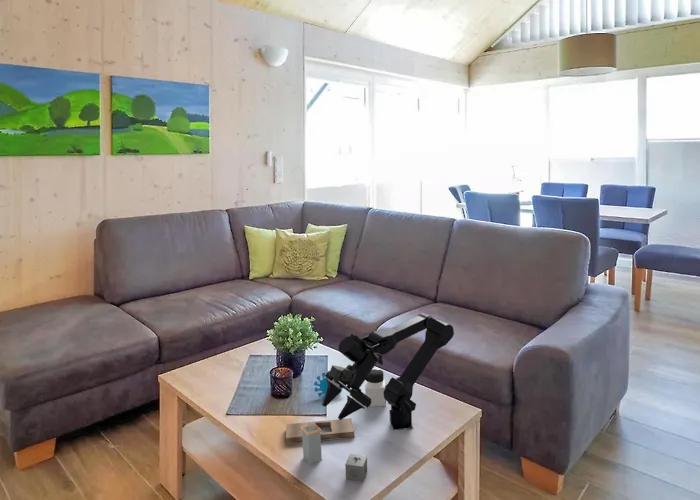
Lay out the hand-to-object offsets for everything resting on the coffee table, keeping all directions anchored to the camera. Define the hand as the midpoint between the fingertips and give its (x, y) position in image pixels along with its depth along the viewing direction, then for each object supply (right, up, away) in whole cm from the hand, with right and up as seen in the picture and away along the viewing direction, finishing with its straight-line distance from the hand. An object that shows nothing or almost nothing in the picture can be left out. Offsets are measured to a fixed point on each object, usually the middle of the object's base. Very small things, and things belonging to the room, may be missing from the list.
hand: (331, 412), depth 157 cm
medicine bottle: (+15, -6, +31) cm, 35 cm away
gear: (-2, -5, +37) cm, 38 cm away
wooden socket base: (-4, -11, +12) cm, 17 cm away
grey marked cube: (+8, -15, -9) cm, 19 cm away
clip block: (-6, -14, -1) cm, 15 cm away
